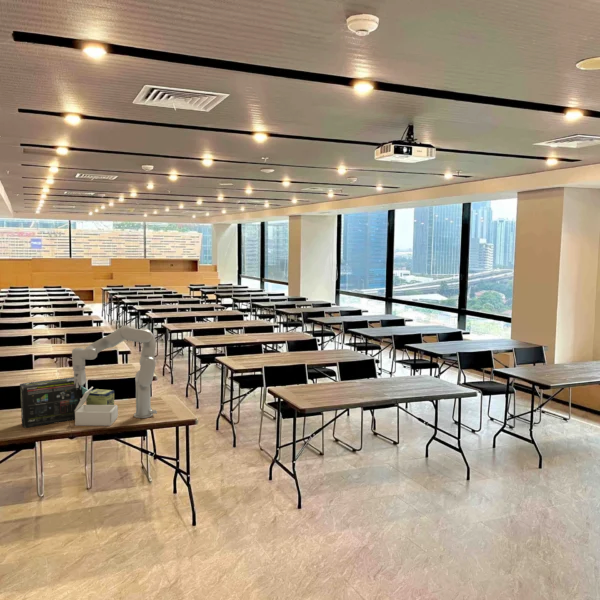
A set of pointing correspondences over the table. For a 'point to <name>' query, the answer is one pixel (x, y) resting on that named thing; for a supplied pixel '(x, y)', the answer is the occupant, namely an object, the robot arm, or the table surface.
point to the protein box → (100, 397)
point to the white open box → (96, 415)
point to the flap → (85, 395)
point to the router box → (48, 402)
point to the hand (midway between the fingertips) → (80, 394)
